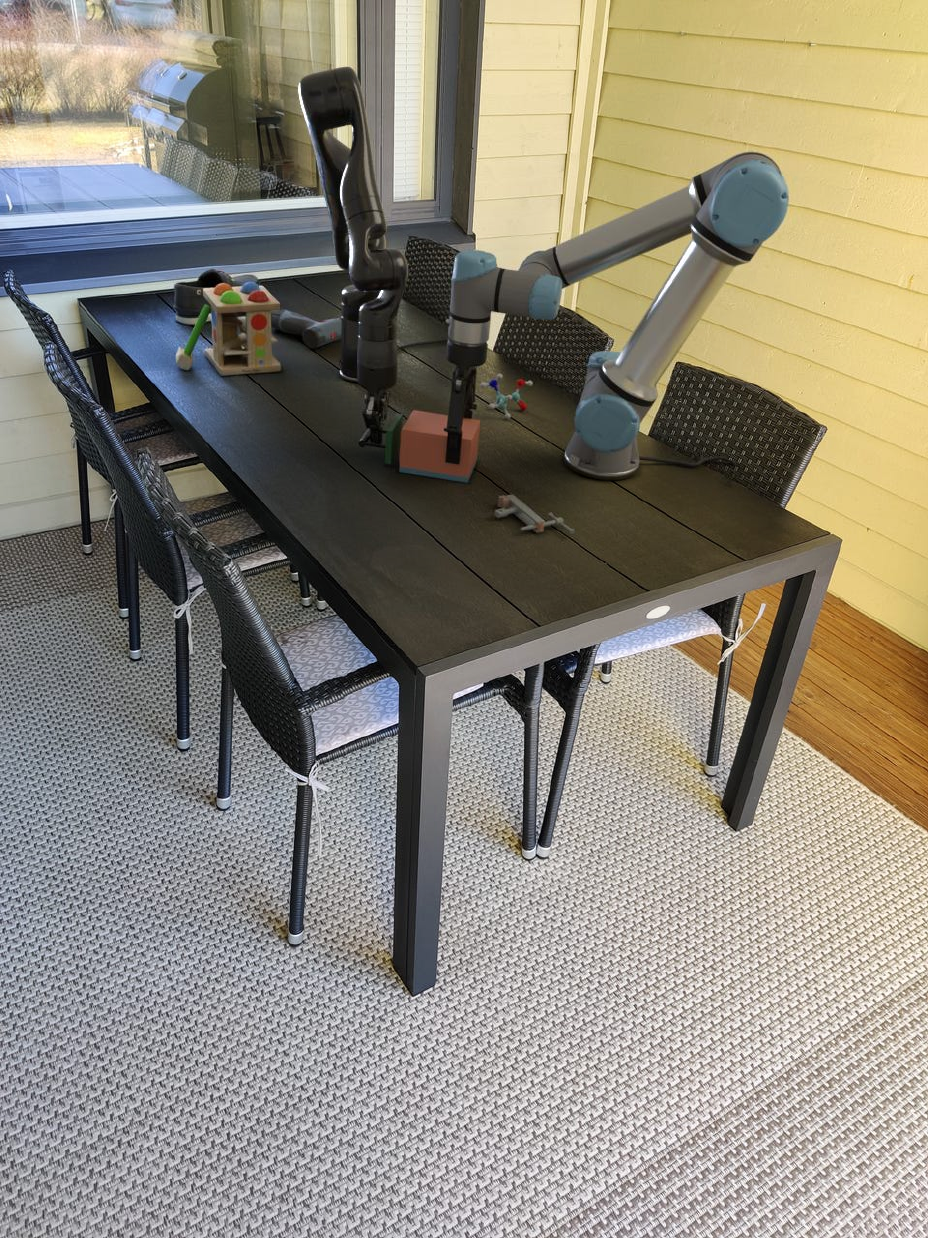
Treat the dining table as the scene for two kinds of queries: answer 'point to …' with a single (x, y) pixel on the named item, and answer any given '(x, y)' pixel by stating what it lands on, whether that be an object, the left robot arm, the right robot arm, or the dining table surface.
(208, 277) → the boat shoe
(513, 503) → the clamp
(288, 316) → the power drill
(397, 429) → the drawer
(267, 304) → the pounding bench toy
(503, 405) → the molecular model
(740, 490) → the dining table surface
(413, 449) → the cabinet
